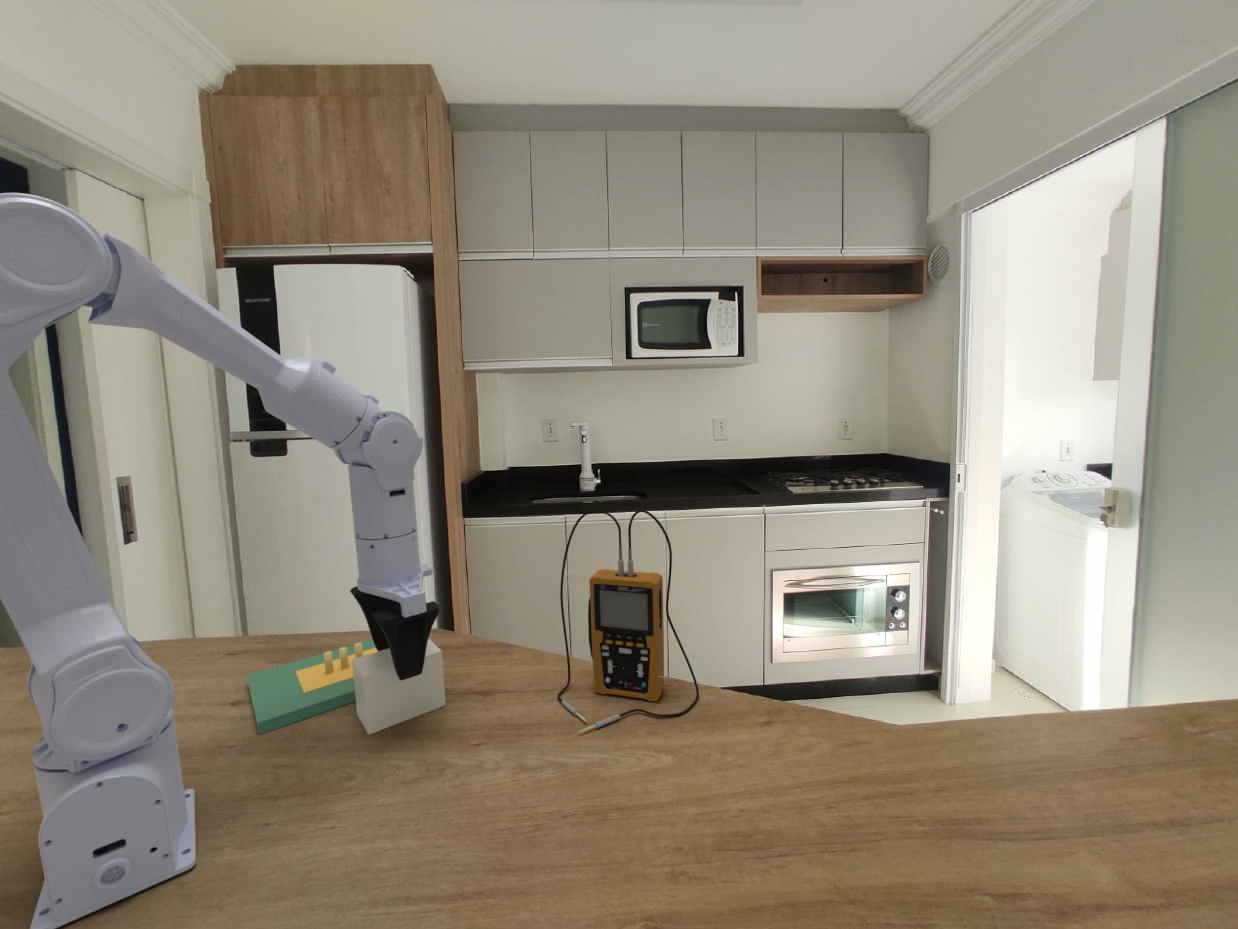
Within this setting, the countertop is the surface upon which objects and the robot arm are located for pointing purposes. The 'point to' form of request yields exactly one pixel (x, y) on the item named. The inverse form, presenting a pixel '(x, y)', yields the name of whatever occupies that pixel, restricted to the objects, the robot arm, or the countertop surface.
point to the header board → (305, 686)
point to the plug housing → (396, 689)
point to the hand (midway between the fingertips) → (398, 661)
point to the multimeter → (626, 631)
